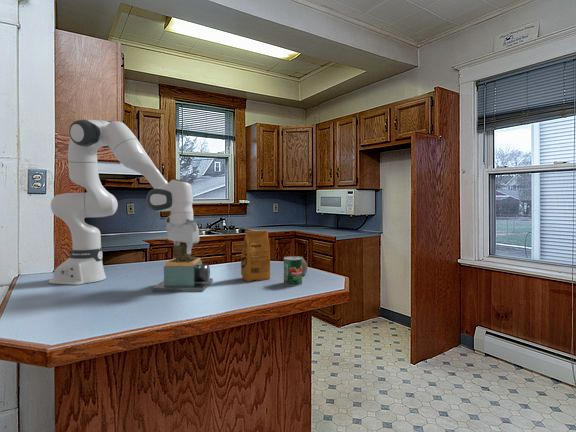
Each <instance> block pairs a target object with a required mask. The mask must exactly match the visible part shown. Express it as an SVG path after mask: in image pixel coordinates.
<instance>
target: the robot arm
mask: <svg viewBox="0 0 576 432" xmlns="http://www.w3.org/2000/svg"><path fill="white" fill-rule="evenodd" d="M68 134H69V137H70V139H69V142H68V149H67V151H68V152H67V161H68V162H67V165H68V177H69V179H70V181H71V182H72V183H73V184H75V185H78V186H81V187H82V188H84V189H85V191H86V192H66V193H61V194H60V193H59V194H55V196H53V198H52V199H51V202H50V210H51V211H52V214H54V216H56V217H57V218H59V219H61V220H62V221H63V222H64V223H65V224H66V225H67V226H68V229H69V231H70V234H71V243H72V249H70V250H68V251H67V252H66V253H67V254H66V255H69V256H68V257H69V258H67V259H66V260H65V261H63V262H62V263H61V264H59V265H58V266H57V267H56V268H55V272H54V277H53V278H50V279H49V280H48V284H54V285H70V286H77V285H82V284H89V283H95V282H100V281H103V280H106V279H107V276H106V273H105V269H104V264H103V247H102V237H101V231H100V229H99V228H98V227H96V226H94V225H91V224H88V223H86V221H85V219H86V218H106V217H110V216H113V215H114V214H115V213H116V212H117V210H118V208H119V207H118V206H119V205H118V203H119V202H118V200H117V198H116V197H115V195H114V194H112V193H110V192H109V191H108V190H106V188H105V187H104V185H102V182H101V179H100V175H99V162H98V150H99V149H100V148H103V149H107V148H110V150H111V152H112V153H113V155H114V156H115V158H116V159H117V160H118V162H119V163H121V164H122V166H123V167H125V168H128V169H129V170H132V171H135V172H136V173H139V174H140V175H142V176H143V177H144V178H145V179H146V180H147V181H148V182H149V184H150V185H151V186H152V189H150V190H149V191H148V193H147V195H146V199H145V200H146V205H147V206H148V208H149V209H150V210H151V211H155V212H170V214H169V216H167V217H165V224H166V237H167V240H168V241H173V245H175V244H176V245H177V246H178V244H179V245H181V243H183V244H185V245H186V246H187V249H186V254H191V255H192V249H193V245H194V244H198V243H199V242H200V232H199V226H198V225H197V222H196V221H195V220H194V209H193V203H194V195H193V186H192V184H191V183H190V181H187V180H182V179H177V178H174V179H171V180H170V181H169V182H168V180H167V179H166V178H165V176H164V175H163V174H162V172H161V171H160V170H159V168H158V167H157V166H156V165H155V163H154V162H153V160H152V159H151V157H150V156H149V155H148V153H147V152H146V150H145V149H144V147H143V145H142V144H141V143H140V141H139V139H138V138H137V136H136V135H135V134H134V132H133V131H132V130H131V129H130V128H129V127H128V126H127V125H126V124H125V123H124V122H122V121H117V120H116V121H111V120H102V119H78V120H75V121H73V122H72V123H71V124H70V126H69V130H68Z"/></svg>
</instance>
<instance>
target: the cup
mask: <svg viewBox="0 0 576 432" xmlns="http://www.w3.org/2000/svg"><path fill="white" fill-rule="evenodd" d="M179 244H180V245H179ZM179 244H178V246H177V245H176V244H175V245H174V244H173V245H172V248H173V255H174V258H176V259H177V260H179V261H178V262H188V261H187V260H188V259H189V258H191V255H192V253H191V254H186V249H187V245H186V243H179Z"/></svg>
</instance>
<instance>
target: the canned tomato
mask: <svg viewBox="0 0 576 432" xmlns="http://www.w3.org/2000/svg"><path fill="white" fill-rule="evenodd" d="M302 257H303V256H302ZM302 257H298V256H296V255H295V256H293V255H291V256H284V257H283V285H285V286H287V287H288V286H289V287H297V286H298V287H299V286H301V285H302V284H303V276H302Z"/></svg>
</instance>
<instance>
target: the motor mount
mask: <svg viewBox="0 0 576 432" xmlns="http://www.w3.org/2000/svg"><path fill="white" fill-rule="evenodd" d="M178 261H179V260H177V259H176V258H175V257H174V258H172V259H170V260H168V261H166V262H165V264H164V266H163V280H162V281H161V282H159V283H157V284H156V285H155V286H153V287H151V290H152V291H151V292H163V291H173V293H174V292H175V291H177V292H178V291H180V292H182V291H190V292H191V291H200V293H201V292H204V291H206V289H207V288H208V287H209V286H210V285H211V284H213V282H214V278H212V277H211V268H210V265H209V264H203V261H202V260H201V257H190V258H189V259H188V260H187V261H188V262H178ZM210 277H211V278H210ZM180 292H179V293H180ZM190 292H189V293H190ZM175 293H176V292H175ZM182 293H183V292H182ZM191 293H192V292H191Z"/></svg>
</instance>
